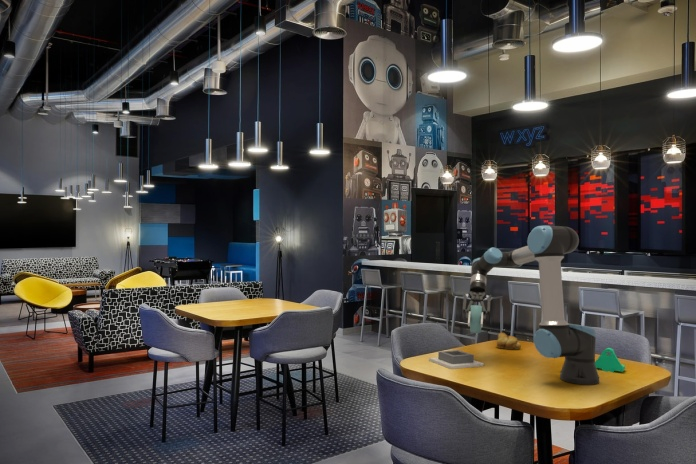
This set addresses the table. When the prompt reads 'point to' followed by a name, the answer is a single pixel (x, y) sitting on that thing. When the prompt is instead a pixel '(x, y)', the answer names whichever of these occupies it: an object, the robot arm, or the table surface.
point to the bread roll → (507, 342)
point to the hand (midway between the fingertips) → (475, 325)
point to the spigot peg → (475, 319)
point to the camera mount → (609, 361)
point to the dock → (454, 366)
